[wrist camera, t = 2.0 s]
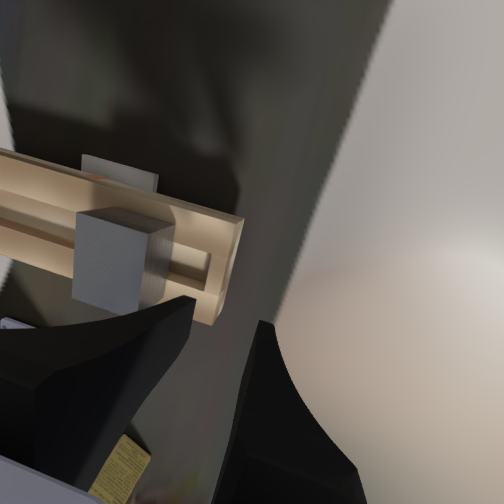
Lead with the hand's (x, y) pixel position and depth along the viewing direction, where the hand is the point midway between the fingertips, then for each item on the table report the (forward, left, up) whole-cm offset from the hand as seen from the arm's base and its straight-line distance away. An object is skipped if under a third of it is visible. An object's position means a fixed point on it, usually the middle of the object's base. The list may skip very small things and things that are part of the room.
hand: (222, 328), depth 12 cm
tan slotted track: (0, +12, -9) cm, 15 cm away
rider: (0, +7, -6) cm, 9 cm away
